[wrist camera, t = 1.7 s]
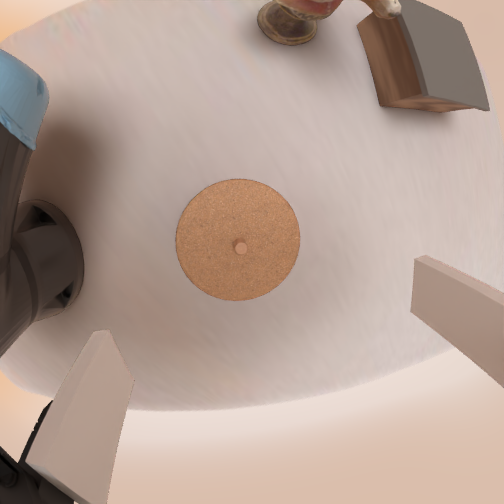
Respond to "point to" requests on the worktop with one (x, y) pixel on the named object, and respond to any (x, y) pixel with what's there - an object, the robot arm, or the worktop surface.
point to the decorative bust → (309, 17)
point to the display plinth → (422, 60)
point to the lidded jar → (237, 239)
